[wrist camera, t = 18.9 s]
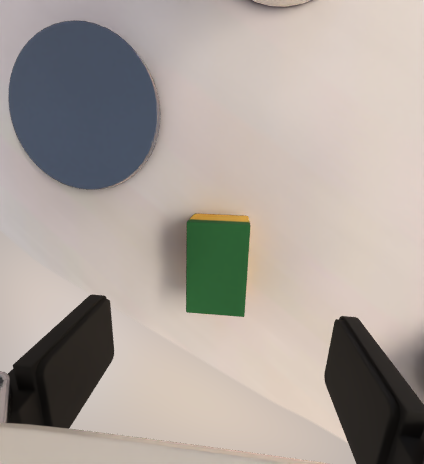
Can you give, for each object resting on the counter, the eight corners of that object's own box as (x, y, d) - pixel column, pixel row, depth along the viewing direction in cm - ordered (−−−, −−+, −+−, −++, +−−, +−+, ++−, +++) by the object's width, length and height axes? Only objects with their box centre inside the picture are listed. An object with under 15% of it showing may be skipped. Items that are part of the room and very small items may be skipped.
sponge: (194, 213, 24) (186, 221, 20) (248, 215, 24) (250, 224, 20) (193, 291, 26) (186, 312, 22) (243, 294, 26) (244, 317, 22)
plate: (12, 31, 22) (-4, 21, 20) (161, 29, 21) (155, 18, 19) (33, 185, 25) (20, 186, 24) (163, 191, 24) (158, 192, 22)
